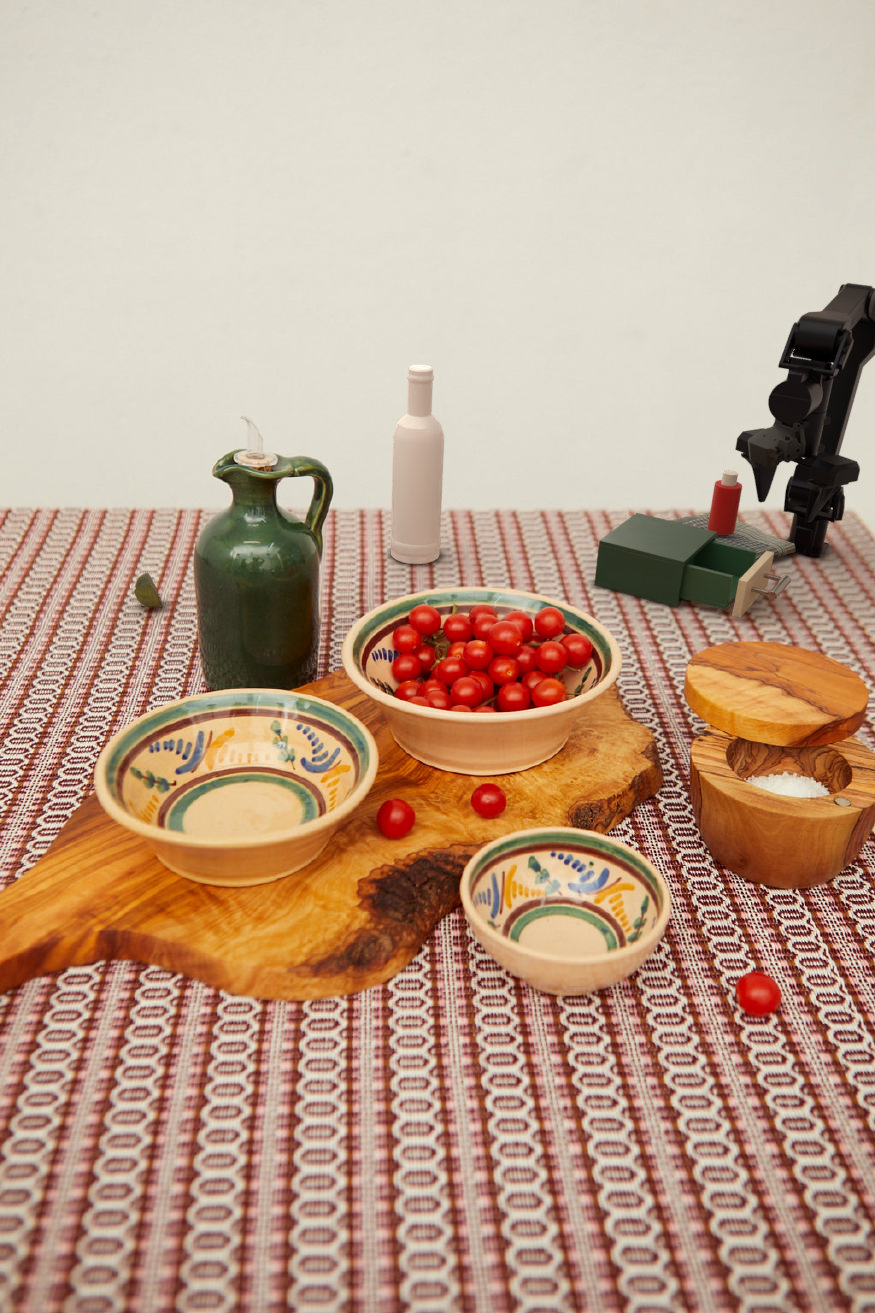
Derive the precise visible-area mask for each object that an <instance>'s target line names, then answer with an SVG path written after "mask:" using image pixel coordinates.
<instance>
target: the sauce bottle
mask: <svg viewBox="0 0 875 1313" xmlns="http://www.w3.org/2000/svg"><path fill="white" fill-rule="evenodd" d="M738 477H739V473H738V471H735V470H731V469H726V470H723V471H722V476H721V479H718V480H716V481H715V482H714V486H713V492H712V499H711V505H710V516H709V522H708V530H711V531H715V532H717V534H721V535H729V534H732V533H734V531H735V526H736V520H738V513H739V508H740V502H741V497H742V490H743V484H742V483H740V482H738Z"/></svg>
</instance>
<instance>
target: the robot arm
mask: <svg viewBox="0 0 875 1313" xmlns="http://www.w3.org/2000/svg"><path fill="white" fill-rule="evenodd" d="M874 357H875V287H873V285H866V284H858V283H852V282H847V283H842V284H841V285H840V286H839V289H838V292H837V294H836V295H835V296H834V297H833V298H832V300H830V302H828V303H827V305H826V306H824V308H823V309H821V310H819V311H808V312H806V313H804V314H802V315H801V316H800V317H799V318H798V320H797V322H796V321H795V322H794V323H793V324H792V326H791V328H790V332H789V334H788V337H787V340H786V343H785V346H784V348H783V351H782V353H781V356H780V359H779V362H778V365H777V367H778V369H784V370H787V371H788V372H787V376H786V379H784V380H782V381H781V382H780V383H778V384H777V385H775V386H774V388H773V389H772V390H771V392H770V393H769V396H768V400H767V405H768V410H769V412H770V414H771V415H772V416H773V418H774V422H773V424H772V426H770V427H766V428H764V427H762V428H756V429H755V428H754V429H749V430H743V431H741V433H740V434H739V435H738V436H737V437H736V443H735V448H734V450H735V451H737V452H740V456H741V458H743V459H745V461H746V462H747V463H748V464H749V465H750V467H751V470H752V474H753V477H754V483H755V489H756V496H757V501H758V503H765V502H766V500H767V497H768V496H769V493H770V491H771V487H772V485H773V481H774V479H775V475H776V473H777V468H778V466H780V464H781V463H783V462H784V463H787V464H789V463H791V462H793V463H795V464H796V465H795V468H794V470H793V471H794V472H793V475H791V476H790V477H789V479H788V480H787V481H788V482H787V485H786V487H785V493H784V503H783V513H784V512H785V513H789V514H793V516H792V520H791V525H790V530H789V535H788V537H787V539H786V540H785V541H788V542H791V543H794V544H795V549H796V550H795V552H794V553H797V554H801V555H805V556H809V557H810V556H811V557H814V558H820V557H821V556H823V554H824V553H825V551H827V549H829V546H830V543H829V542H826V541H825V540H826V536H827V531H828V527H829V522H830V523H833V524H835V523H836V522H839V521H843V517H844V514H845V506H846V496H845V490H844V486H846V485H849V484H850V483H855V482H858V480H859V476H860V472H861V466H860V465H859V462H858V461H857V460H854V459H851V458H848V457H846V456H843V455H841V454H840V452H841V449H842V446H843V442H844V438H845V435H846V431H847V428H848V424H849V420H850V416H851V413H852V409H853V406H854V402H855V399H856V394H857V391H858V387H859V384H860V380H861V376H862V373H863V370H864V367H865V365H867V364H868V363H869V362H870V361H871V360H872V359H873V358H874Z"/></svg>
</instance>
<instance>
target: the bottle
mask: <svg viewBox="0 0 875 1313" xmlns="http://www.w3.org/2000/svg"><path fill="white" fill-rule="evenodd" d="M406 379H407V412H406V413H405V414H404V415H403V416H402V417H401V418H400V419H399V420H398V421H397V423H396V425H395V429H394V431H393V435H392V467H391V468H392V469H391V470H392V471H391V473H392V474H391V475H392V476H391V521H390V522H391V524H390V536H389V537H390V538H389V543H390V544H389V546H390V555H391V557H392V558H393V559H394V560H396V561H397V562H400V563H402V564H408V565H425V564H430V563H433V562H434V561H436V560H438V559H439V557H440V549H441V545H442V544H441V542H442V541H441V527H442V524H441V523H442V505H443V504H442V501H443V480H444V478H443V477H444V456H445V455H444V454H445V434H444V431H443V427H442V424H441V422H440V421H439V420H438V419H437V418H436V417H435V415H434V414H433V412H432V410H433V408H432V407H433V384H434V382H433V381H434V379H435V376H434V369H433V367H432V366H430V365H428V364H421V363H420V364H419V363H418V364H412V365H410V366H409V367H408V372H407V376H406Z"/></svg>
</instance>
